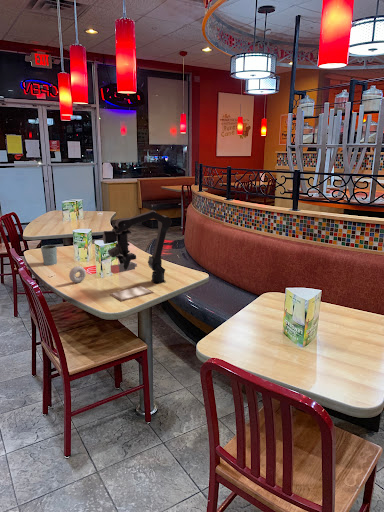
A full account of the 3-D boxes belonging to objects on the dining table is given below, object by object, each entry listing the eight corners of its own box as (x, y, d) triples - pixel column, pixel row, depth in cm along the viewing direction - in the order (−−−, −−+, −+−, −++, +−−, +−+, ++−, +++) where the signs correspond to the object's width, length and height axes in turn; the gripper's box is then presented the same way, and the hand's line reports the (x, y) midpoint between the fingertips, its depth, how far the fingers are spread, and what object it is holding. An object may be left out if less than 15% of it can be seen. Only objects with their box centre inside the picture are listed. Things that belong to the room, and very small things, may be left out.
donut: (71, 285, 220) (70, 268, 217) (68, 283, 222) (67, 267, 220) (87, 281, 227) (86, 265, 224) (84, 279, 229) (83, 264, 226)
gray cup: (52, 260, 267) (50, 244, 264) (61, 263, 262) (59, 246, 258) (39, 264, 260) (37, 247, 256) (48, 266, 254) (46, 249, 251)
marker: (134, 267, 221) (134, 260, 220) (137, 268, 218) (137, 262, 217) (110, 272, 212) (110, 265, 211) (114, 273, 209) (113, 267, 208)
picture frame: (141, 286, 218) (141, 285, 218) (153, 292, 209) (153, 291, 209) (109, 294, 207) (109, 293, 206) (121, 301, 197) (121, 300, 197)
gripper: (101, 240, 213) (103, 267, 217) (117, 247, 198) (119, 275, 203) (119, 237, 219) (121, 263, 223) (136, 244, 205) (137, 271, 209)
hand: (124, 268), depth 215 cm, fingers closed on marker, 4 cm apart
